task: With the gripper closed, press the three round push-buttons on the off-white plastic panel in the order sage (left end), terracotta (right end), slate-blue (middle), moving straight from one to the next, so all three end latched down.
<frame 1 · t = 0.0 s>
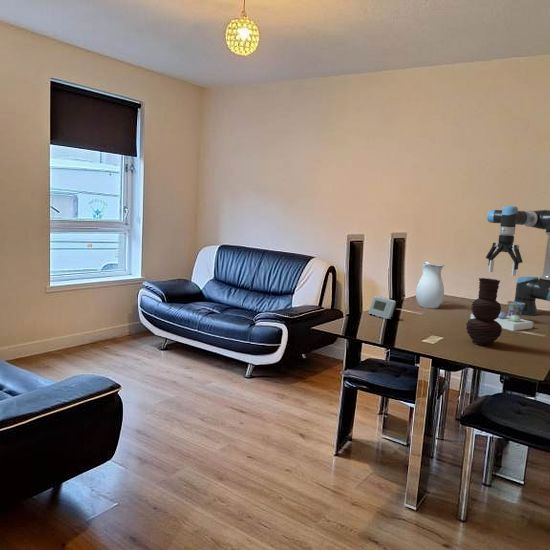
hand: (501, 273, 269), 28 cm above the table, fingers open, 13 cm apart
sage button: (515, 319, 265), point 4 cm above the table, slide at 0.0 cm
terracotta button: (488, 313, 279), point 4 cm above the table, slide at 0.0 cm
slate button: (501, 316, 272), point 4 cm above the table, slide at 0.0 cm
vase: (481, 343, 227), on the table
panel: (500, 323, 273), on the table
digital clock: (381, 317, 271), on the table
pitcher: (426, 305, 315), on the table
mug: (514, 320, 285), on the table
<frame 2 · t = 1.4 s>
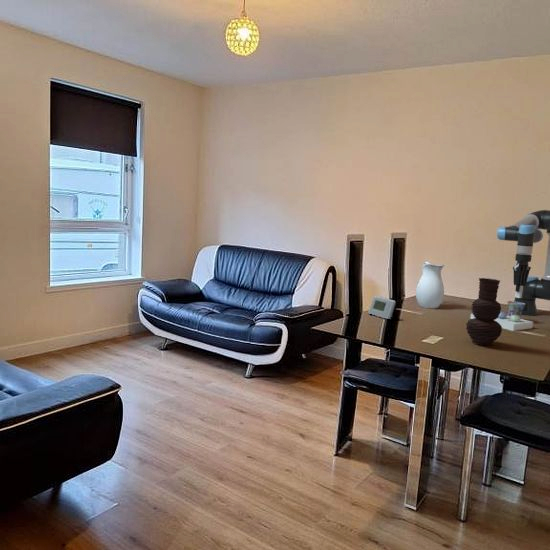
hand: (518, 297, 264), 16 cm above the table, fingers closed
nothing on the table moved.
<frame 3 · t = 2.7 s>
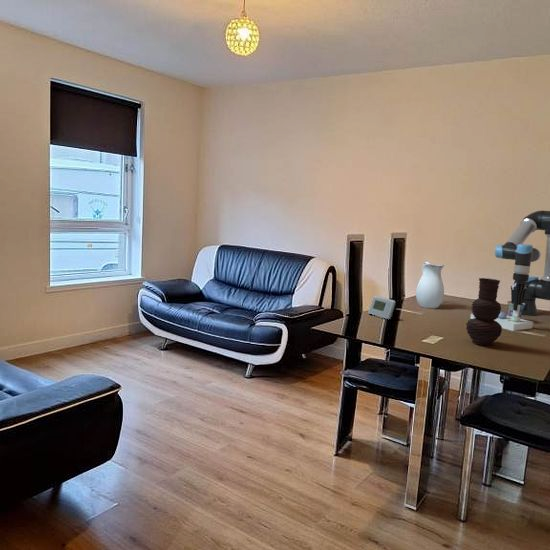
hand: (515, 316, 265), 6 cm above the table, fingers closed
sage button: (515, 320, 265), point 4 cm above the table, slide at 0.5 cm, touching gripper
everything else where it was.
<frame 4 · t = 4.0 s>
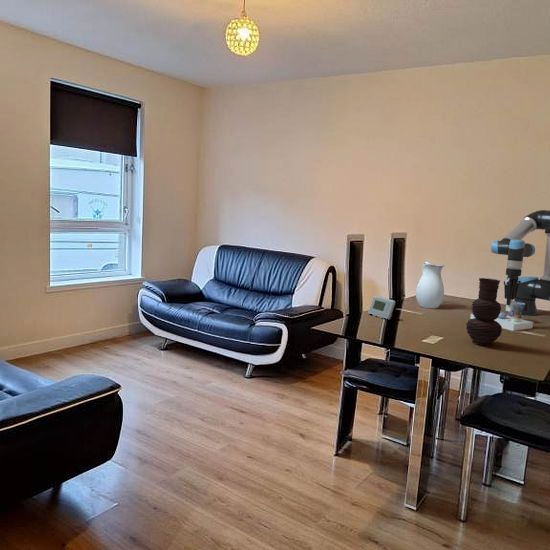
hand: (508, 310, 269), 8 cm above the table, fingers closed
sage button: (514, 322, 266), point 3 cm above the table, slide at 1.6 cm
everything else where it was.
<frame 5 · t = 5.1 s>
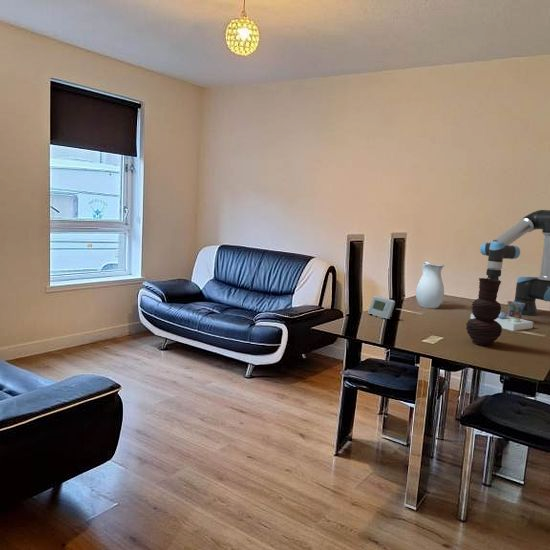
hand: (488, 310, 278), 6 cm above the table, fingers closed
terracotta button: (488, 314, 279), point 4 cm above the table, slide at 0.4 cm, touching gripper
everything else where it was.
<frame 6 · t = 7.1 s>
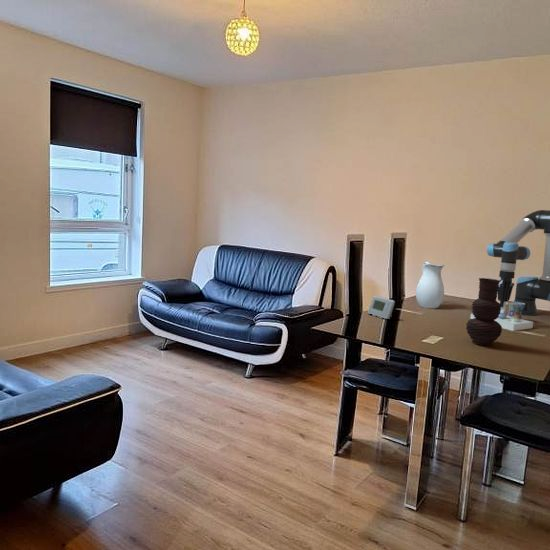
hand: (501, 312, 272), 6 cm above the table, fingers closed
terracotta button: (488, 316, 279), point 3 cm above the table, slide at 1.6 cm
slate button: (501, 316, 272), point 4 cm above the table, slide at 0.3 cm, touching gripper
everything else where it was.
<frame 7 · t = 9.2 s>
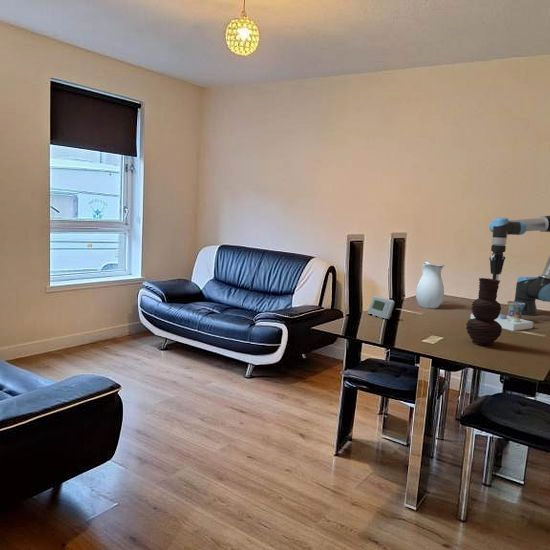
hand: (494, 285, 285), 19 cm above the table, fingers closed
slate button: (501, 319, 272), point 3 cm above the table, slide at 1.6 cm
everything else where it was.
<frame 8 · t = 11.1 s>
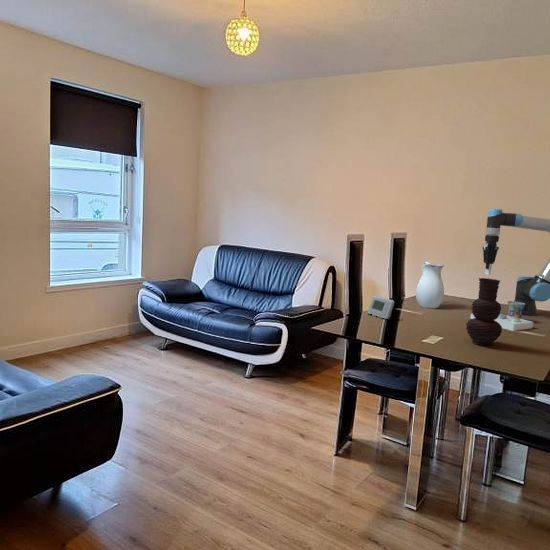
hand: (487, 274, 294), 24 cm above the table, fingers closed
nothing on the table moved.
at the end: sage button slide at 1.6 cm; terracotta button slide at 1.6 cm; slate button slide at 1.6 cm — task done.
